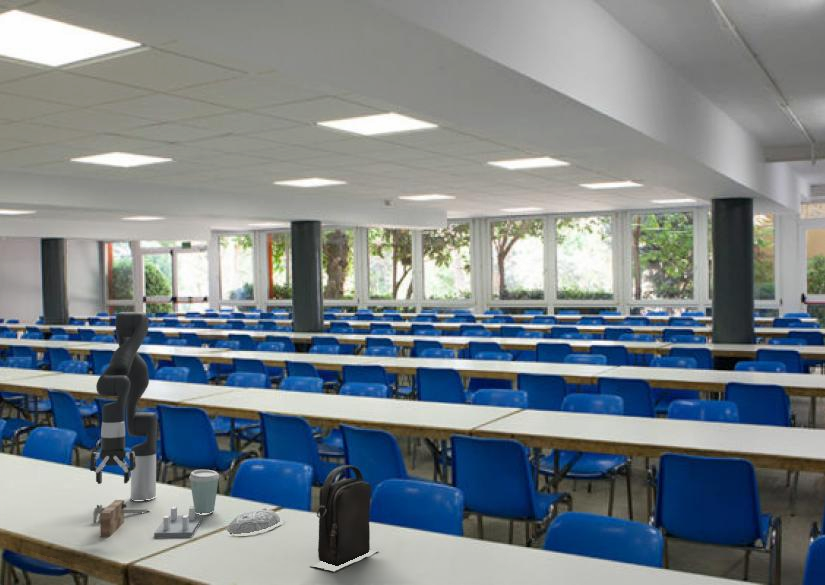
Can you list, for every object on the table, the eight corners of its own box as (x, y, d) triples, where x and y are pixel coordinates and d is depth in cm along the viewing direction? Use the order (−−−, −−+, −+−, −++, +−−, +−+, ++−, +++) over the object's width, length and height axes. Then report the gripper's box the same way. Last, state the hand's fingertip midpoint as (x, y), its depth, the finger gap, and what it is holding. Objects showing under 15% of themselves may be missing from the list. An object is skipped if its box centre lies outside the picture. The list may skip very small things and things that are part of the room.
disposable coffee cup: (223, 509, 288) (223, 468, 288) (213, 518, 277) (213, 475, 277) (195, 508, 289) (195, 468, 289) (184, 516, 278) (184, 474, 278)
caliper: (94, 524, 270) (94, 505, 270) (93, 523, 271) (93, 505, 271) (150, 512, 285) (150, 495, 285) (148, 511, 285) (148, 494, 285)
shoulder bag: (356, 546, 247) (357, 457, 247) (380, 552, 242) (380, 461, 242) (309, 567, 228) (309, 470, 228) (333, 573, 223) (334, 474, 223)
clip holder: (168, 520, 274) (168, 504, 274) (203, 519, 275) (203, 503, 275) (154, 537, 254) (154, 520, 254) (191, 536, 255) (191, 520, 255)
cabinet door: (115, 523, 271) (115, 500, 271) (128, 522, 271) (128, 499, 271) (100, 537, 255) (100, 512, 255) (114, 537, 255) (114, 512, 255)
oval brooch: (211, 532, 260) (214, 511, 260) (261, 517, 282) (263, 499, 282) (246, 544, 252) (249, 523, 252) (295, 529, 274) (297, 510, 274)
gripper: (137, 432, 267) (137, 480, 267) (94, 433, 266) (94, 481, 266) (132, 436, 260) (131, 485, 260) (87, 437, 259) (87, 486, 259)
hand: (112, 483), depth 263 cm, fingers open, 8 cm apart
